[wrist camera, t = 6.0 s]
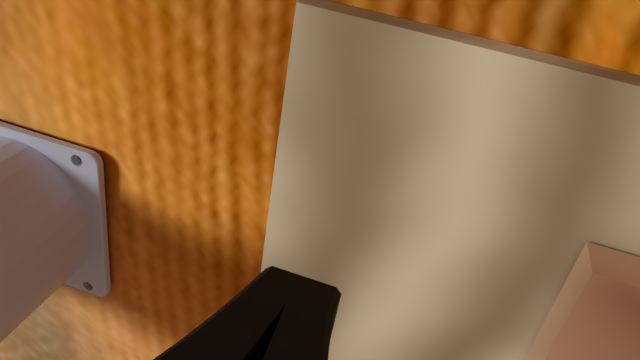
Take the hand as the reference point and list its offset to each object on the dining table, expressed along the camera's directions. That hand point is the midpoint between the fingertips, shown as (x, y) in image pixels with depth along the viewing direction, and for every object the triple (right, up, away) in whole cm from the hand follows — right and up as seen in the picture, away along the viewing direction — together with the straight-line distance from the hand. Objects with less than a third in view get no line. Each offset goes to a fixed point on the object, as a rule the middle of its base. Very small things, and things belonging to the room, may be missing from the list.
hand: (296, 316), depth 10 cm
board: (+7, -1, +10) cm, 12 cm away
